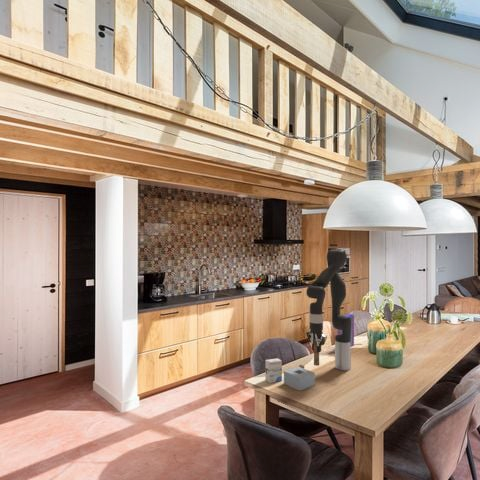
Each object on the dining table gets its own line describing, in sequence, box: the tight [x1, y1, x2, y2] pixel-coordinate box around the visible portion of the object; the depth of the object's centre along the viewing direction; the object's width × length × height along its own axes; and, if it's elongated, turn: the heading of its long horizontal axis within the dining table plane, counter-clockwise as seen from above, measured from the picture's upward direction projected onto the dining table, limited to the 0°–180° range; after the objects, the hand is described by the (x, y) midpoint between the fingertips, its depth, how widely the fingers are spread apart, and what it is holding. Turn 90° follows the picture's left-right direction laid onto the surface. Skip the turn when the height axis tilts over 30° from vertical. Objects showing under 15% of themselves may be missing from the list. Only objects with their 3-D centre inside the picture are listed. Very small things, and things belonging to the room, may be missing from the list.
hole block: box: [283, 366, 316, 392], centre depth 196 cm, size 12×12×7 cm
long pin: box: [313, 339, 320, 367], centre depth 201 cm, size 3×3×14 cm
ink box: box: [264, 357, 283, 384], centre depth 202 cm, size 8×5×12 cm, turn 111°
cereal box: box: [336, 313, 355, 348], centre depth 267 cm, size 17×5×24 cm, turn 136°
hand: (316, 351), depth 201 cm, fingers closed on long pin, 3 cm apart
